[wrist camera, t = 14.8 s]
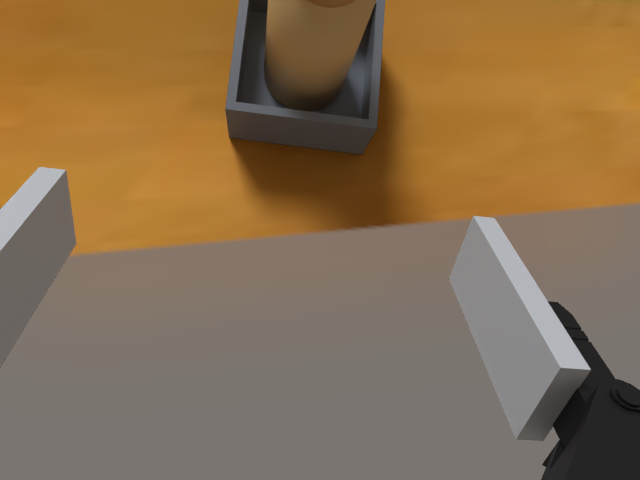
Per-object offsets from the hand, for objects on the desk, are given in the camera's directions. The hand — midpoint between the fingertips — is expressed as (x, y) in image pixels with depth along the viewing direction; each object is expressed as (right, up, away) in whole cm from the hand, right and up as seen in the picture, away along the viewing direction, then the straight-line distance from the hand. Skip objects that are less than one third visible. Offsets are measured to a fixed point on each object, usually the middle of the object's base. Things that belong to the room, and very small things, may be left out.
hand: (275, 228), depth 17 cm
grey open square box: (0, +10, +16) cm, 18 cm away
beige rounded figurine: (0, +10, +14) cm, 17 cm away
